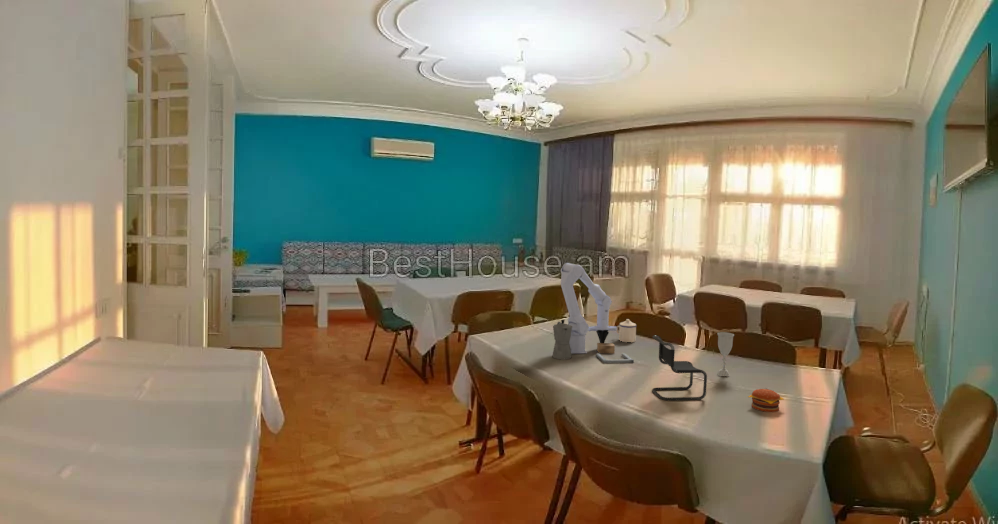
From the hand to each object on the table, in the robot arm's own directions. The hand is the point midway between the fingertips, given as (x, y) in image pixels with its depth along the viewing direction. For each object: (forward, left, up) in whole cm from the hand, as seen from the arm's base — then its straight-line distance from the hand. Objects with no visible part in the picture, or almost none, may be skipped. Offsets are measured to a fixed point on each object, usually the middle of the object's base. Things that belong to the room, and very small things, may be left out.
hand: (601, 344), depth 288 cm
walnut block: (0, -6, -2) cm, 7 cm away
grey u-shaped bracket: (0, -19, -2) cm, 19 cm away
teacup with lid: (+18, +17, -2) cm, 25 cm away
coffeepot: (-24, -13, -2) cm, 27 cm away
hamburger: (+34, -87, -2) cm, 94 cm away
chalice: (+39, -48, -2) cm, 62 cm away
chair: (+8, -71, -2) cm, 72 cm away
